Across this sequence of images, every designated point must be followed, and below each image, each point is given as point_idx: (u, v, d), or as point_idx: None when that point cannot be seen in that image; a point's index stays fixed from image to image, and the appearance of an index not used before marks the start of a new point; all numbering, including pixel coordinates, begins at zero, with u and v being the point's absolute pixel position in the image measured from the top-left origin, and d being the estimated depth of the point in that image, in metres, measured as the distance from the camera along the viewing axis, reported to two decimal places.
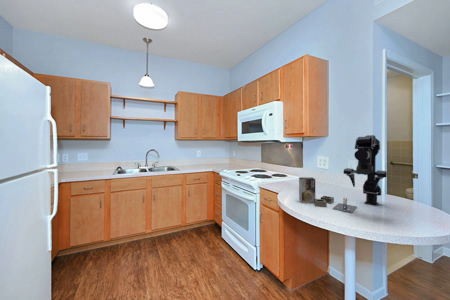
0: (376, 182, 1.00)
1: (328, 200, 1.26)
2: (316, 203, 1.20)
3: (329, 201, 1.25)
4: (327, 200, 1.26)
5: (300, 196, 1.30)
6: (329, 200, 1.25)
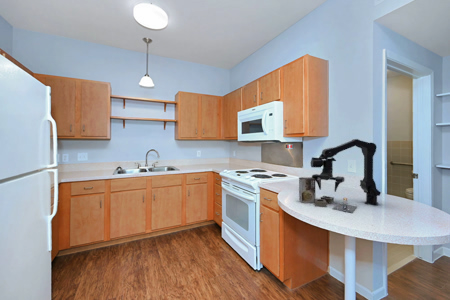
0: (336, 186, 1.24)
1: (328, 200, 1.26)
2: (316, 203, 1.20)
3: (329, 201, 1.25)
4: (327, 200, 1.26)
5: (300, 196, 1.30)
6: (329, 200, 1.25)
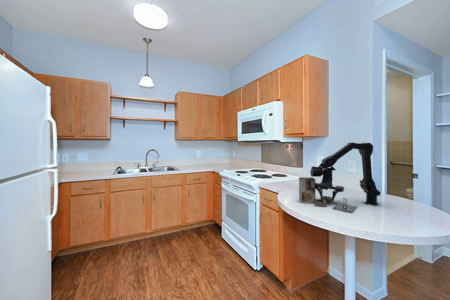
0: (333, 195, 1.25)
1: (328, 200, 1.26)
2: (316, 203, 1.20)
3: (329, 201, 1.25)
4: (327, 200, 1.26)
5: (300, 196, 1.30)
6: (329, 200, 1.25)
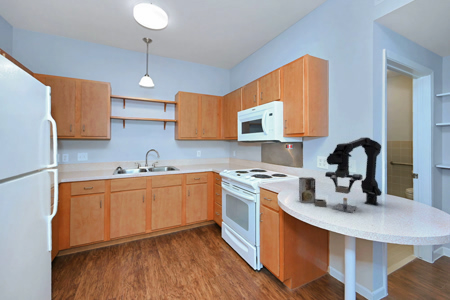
0: (350, 184, 1.13)
1: (344, 190, 1.14)
2: (316, 203, 1.20)
3: (345, 191, 1.13)
4: (343, 190, 1.14)
5: (300, 196, 1.30)
6: (345, 190, 1.13)
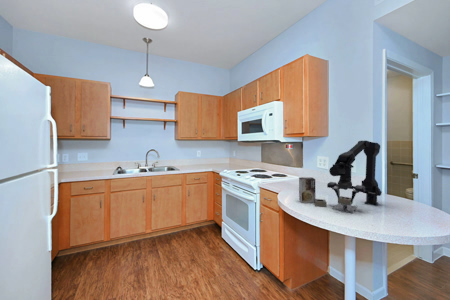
0: (353, 195, 1.12)
1: (347, 201, 1.12)
2: (316, 203, 1.20)
3: (348, 202, 1.12)
4: (346, 201, 1.13)
5: (300, 196, 1.30)
6: (348, 201, 1.12)
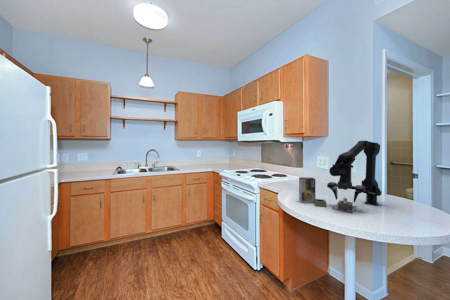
0: (355, 196, 1.11)
1: (347, 206, 1.12)
2: (316, 203, 1.20)
3: (348, 207, 1.12)
4: (346, 206, 1.13)
5: (300, 196, 1.30)
6: (348, 206, 1.12)
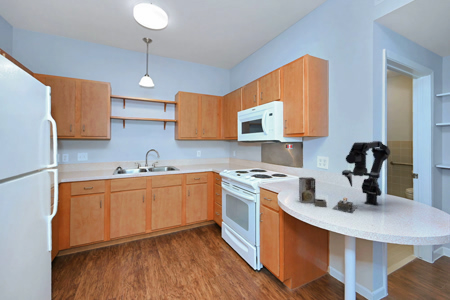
0: (370, 182, 1.14)
1: (347, 206, 1.12)
2: (316, 203, 1.20)
3: (348, 207, 1.12)
4: (346, 206, 1.13)
5: (300, 196, 1.30)
6: (348, 206, 1.12)
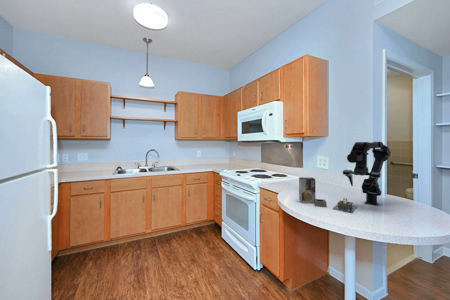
0: (371, 182, 1.15)
1: (347, 206, 1.12)
2: (316, 203, 1.20)
3: (348, 207, 1.12)
4: (346, 206, 1.13)
5: (300, 196, 1.30)
6: (348, 206, 1.12)
